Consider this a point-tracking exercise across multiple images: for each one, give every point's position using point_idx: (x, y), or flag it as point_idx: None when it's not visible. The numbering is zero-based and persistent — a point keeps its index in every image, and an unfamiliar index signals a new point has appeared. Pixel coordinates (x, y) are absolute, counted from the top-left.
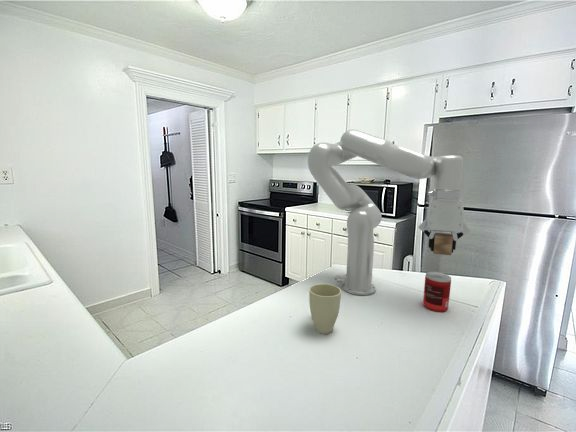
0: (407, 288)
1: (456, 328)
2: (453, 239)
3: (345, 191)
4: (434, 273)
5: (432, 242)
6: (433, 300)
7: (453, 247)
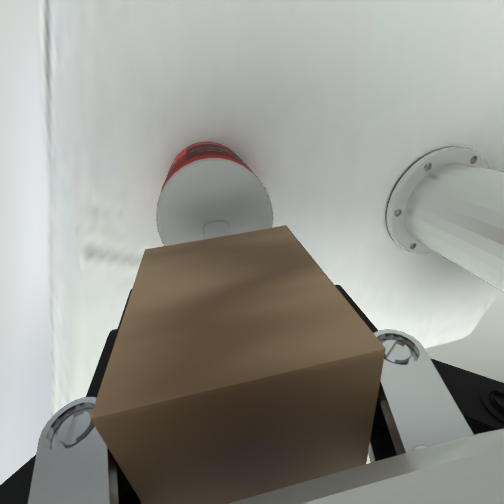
0: None
1: (127, 25)
2: None
3: None
4: None
5: None
6: (218, 146)
7: (121, 320)
